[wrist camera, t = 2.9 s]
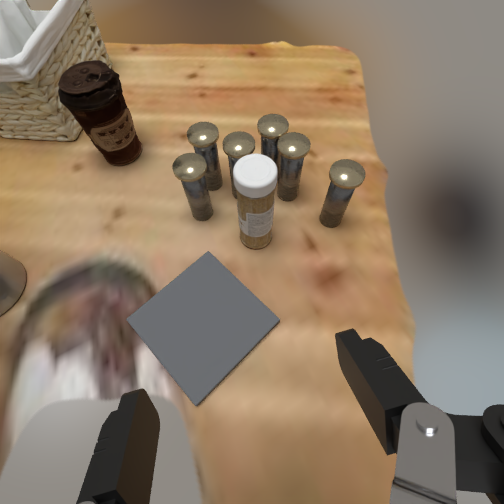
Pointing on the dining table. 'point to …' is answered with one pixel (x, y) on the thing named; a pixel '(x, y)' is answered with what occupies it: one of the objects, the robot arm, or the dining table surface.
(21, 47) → the storage basket
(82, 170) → the dining table surface
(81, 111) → the coffee cup
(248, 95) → the dining table surface
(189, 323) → the rubber mat
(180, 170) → the posts
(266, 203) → the sprinkles bottle
